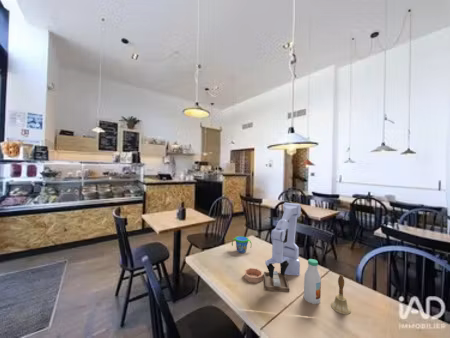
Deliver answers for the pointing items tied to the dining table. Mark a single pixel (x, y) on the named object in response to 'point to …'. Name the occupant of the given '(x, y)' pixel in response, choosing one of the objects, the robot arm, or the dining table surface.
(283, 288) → the walnut tray
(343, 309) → the hand bell
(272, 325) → the dining table surface
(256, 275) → the terracotta bowl
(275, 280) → the white block
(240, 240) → the snack cup
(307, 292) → the milk bottle
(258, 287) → the dining table surface
